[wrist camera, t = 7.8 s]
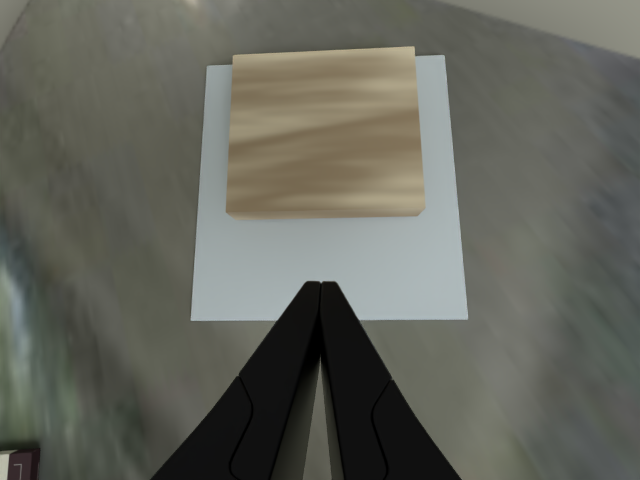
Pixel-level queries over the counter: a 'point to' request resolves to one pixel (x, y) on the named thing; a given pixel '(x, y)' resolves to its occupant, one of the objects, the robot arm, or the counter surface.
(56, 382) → the counter surface
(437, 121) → the light gray mat
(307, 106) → the birch tile
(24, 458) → the chocolate bar
